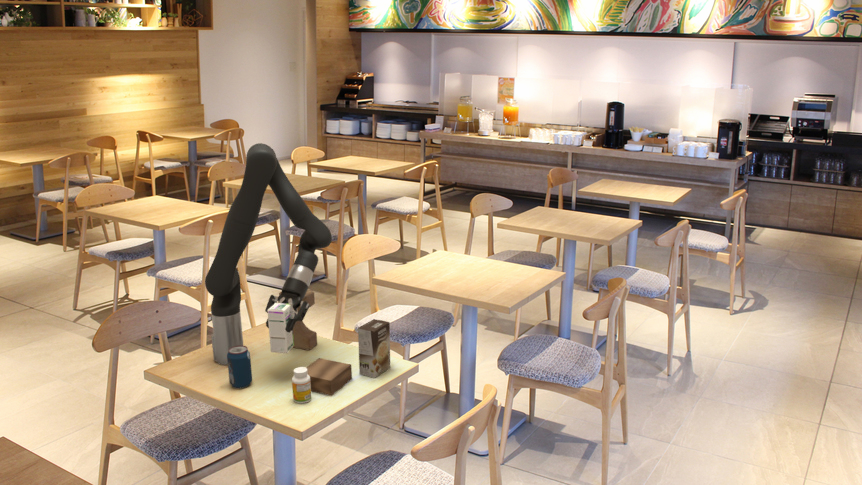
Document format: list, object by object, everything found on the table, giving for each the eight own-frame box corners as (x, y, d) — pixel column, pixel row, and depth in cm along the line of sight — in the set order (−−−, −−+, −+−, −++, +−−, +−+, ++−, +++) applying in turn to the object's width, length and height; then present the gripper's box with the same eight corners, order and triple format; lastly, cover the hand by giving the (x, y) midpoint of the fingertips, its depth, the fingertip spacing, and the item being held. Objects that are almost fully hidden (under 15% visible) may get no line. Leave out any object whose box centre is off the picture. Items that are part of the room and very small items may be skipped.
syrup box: (287, 353, 224) (285, 310, 220) (269, 352, 225) (267, 308, 221) (294, 346, 229) (292, 303, 225) (276, 344, 231) (274, 302, 226)
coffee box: (375, 378, 229) (373, 331, 224) (359, 374, 232) (356, 327, 227) (391, 367, 236) (389, 321, 232) (375, 363, 239) (373, 318, 235)
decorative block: (317, 344, 254) (314, 291, 249) (309, 350, 249) (306, 296, 244) (290, 340, 258) (287, 287, 253) (282, 346, 253) (278, 292, 248)
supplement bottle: (294, 395, 219) (292, 366, 216) (312, 394, 219) (310, 365, 216) (292, 404, 213) (290, 374, 211) (310, 403, 214) (308, 373, 211)
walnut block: (298, 388, 223) (297, 373, 222) (319, 372, 233) (319, 357, 232) (331, 395, 218) (330, 380, 217) (351, 378, 229) (351, 364, 227)
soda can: (256, 380, 229) (253, 345, 225) (246, 390, 222) (243, 354, 219) (236, 378, 230) (232, 343, 227) (225, 388, 223) (222, 352, 220)
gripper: (273, 273, 230) (253, 320, 223) (312, 279, 225) (291, 328, 218) (284, 283, 237) (264, 330, 230) (321, 290, 231) (302, 338, 224)
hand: (277, 329), depth 224 cm, fingers closed on syrup box, 6 cm apart
